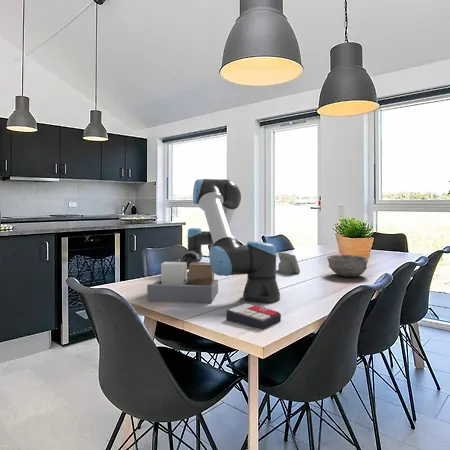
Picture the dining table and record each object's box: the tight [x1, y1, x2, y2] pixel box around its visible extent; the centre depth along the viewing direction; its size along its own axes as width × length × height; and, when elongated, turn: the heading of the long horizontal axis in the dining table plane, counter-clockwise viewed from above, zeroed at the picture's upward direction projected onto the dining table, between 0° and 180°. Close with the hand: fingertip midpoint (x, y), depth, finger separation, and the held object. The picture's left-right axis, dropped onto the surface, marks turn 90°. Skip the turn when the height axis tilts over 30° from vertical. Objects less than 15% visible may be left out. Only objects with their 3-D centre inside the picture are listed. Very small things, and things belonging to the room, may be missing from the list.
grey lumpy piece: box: [277, 251, 301, 275], centre depth 213 cm, size 16×9×11 cm, turn 11°
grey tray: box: [146, 277, 219, 304], centre depth 160 cm, size 18×26×6 cm
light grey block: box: [160, 261, 188, 285], centre depth 167 cm, size 6×10×11 cm, turn 83°
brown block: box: [188, 261, 215, 286], centre depth 166 cm, size 6×10×11 cm, turn 83°
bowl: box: [326, 254, 369, 278], centre depth 201 cm, size 21×21×10 cm
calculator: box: [225, 303, 282, 330], centre depth 128 cm, size 11×4×15 cm
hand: (180, 267), depth 178 cm, fingers closed
